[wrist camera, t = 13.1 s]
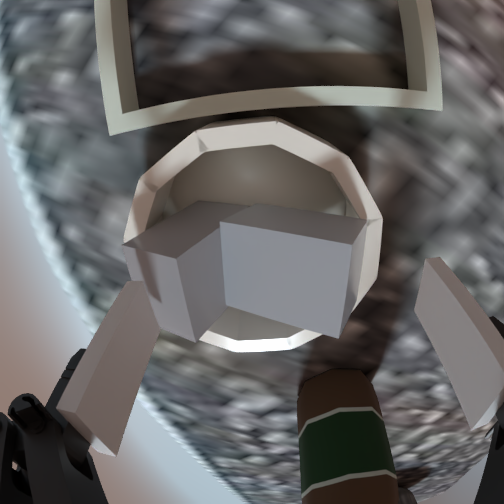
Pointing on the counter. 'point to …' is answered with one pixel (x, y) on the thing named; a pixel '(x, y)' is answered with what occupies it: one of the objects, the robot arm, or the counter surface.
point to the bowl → (258, 201)
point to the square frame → (130, 117)
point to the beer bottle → (344, 442)
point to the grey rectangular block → (183, 267)
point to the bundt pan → (406, 496)
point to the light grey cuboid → (293, 265)
